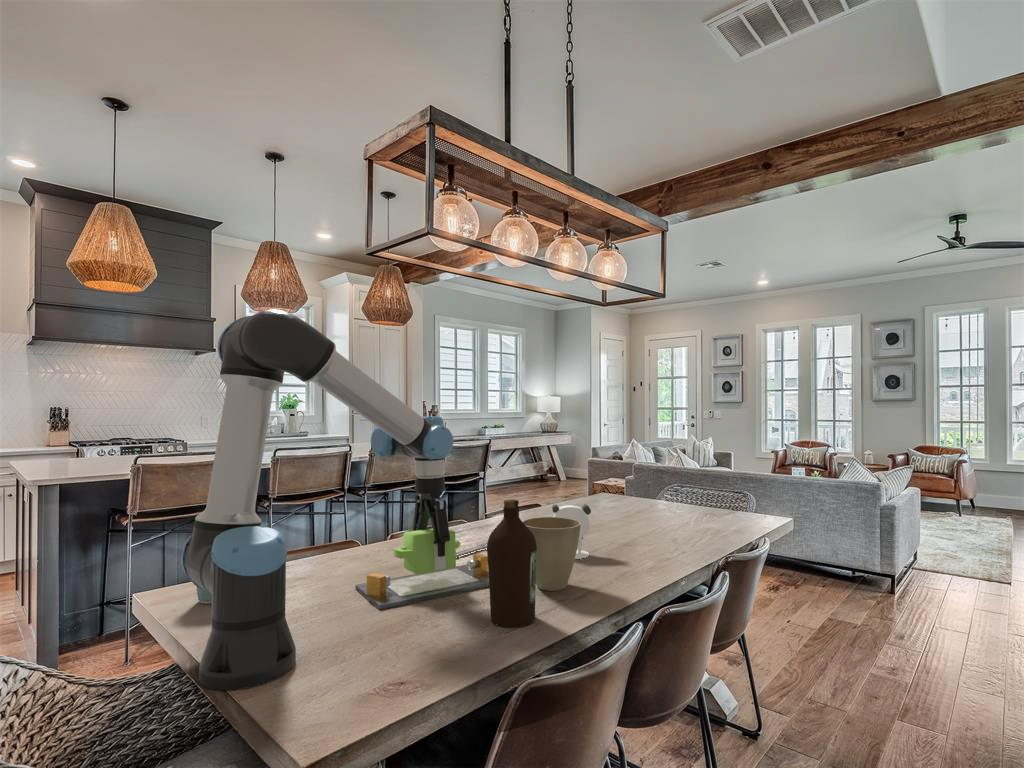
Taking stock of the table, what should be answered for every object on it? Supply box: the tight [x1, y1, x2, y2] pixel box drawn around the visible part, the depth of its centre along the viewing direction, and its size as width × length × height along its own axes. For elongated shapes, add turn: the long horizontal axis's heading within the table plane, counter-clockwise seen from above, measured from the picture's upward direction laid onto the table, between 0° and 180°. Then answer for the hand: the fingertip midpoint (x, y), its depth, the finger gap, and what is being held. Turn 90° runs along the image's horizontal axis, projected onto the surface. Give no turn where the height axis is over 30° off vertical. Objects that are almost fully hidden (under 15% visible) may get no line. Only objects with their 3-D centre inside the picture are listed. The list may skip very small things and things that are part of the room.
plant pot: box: [521, 516, 581, 592], centre depth 139 cm, size 15×15×16 cm
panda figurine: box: [551, 504, 592, 560], centre depth 169 cm, size 12×11×15 cm
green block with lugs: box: [393, 528, 461, 574], centre depth 141 cm, size 18×10×10 cm, turn 125°
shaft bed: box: [355, 552, 489, 610], centre depth 140 cm, size 18×33×6 cm, turn 123°
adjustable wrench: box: [456, 540, 488, 557], centre depth 173 cm, size 25×6×2 cm, turn 136°
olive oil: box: [486, 498, 537, 629], centre depth 117 cm, size 11×11×25 cm
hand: (430, 564), depth 140 cm, fingers closed on green block with lugs, 10 cm apart
